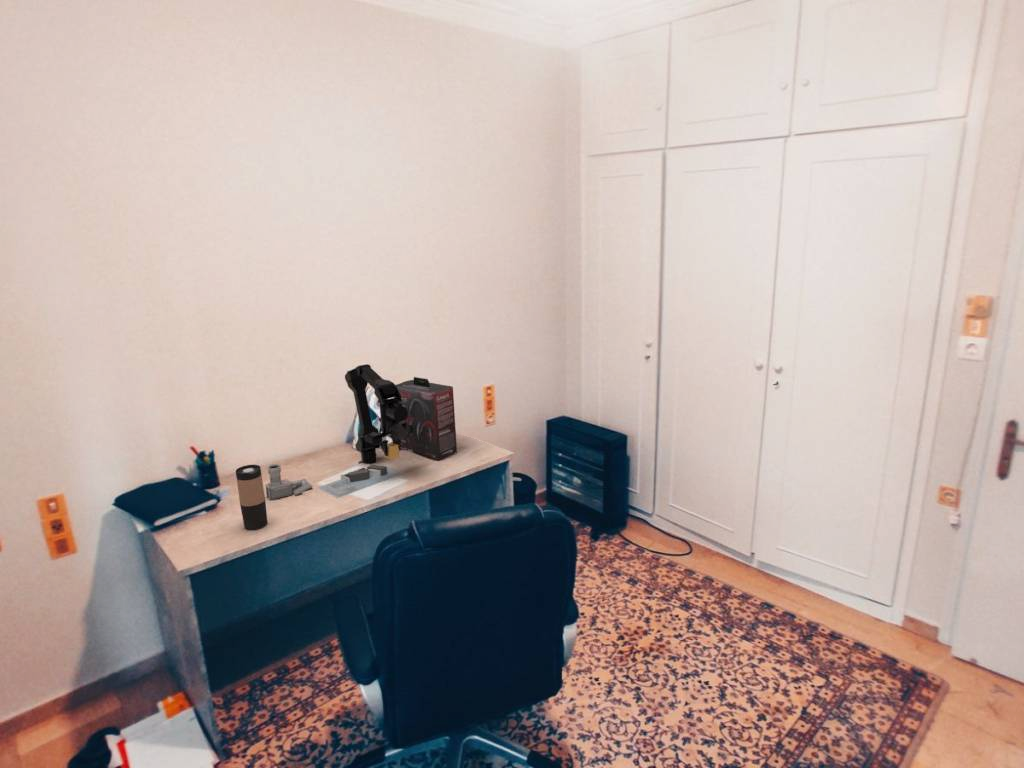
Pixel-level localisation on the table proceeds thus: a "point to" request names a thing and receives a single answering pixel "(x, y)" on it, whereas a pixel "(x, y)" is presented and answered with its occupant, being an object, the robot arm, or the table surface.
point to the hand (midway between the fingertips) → (391, 454)
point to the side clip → (347, 479)
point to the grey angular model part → (283, 484)
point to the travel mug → (251, 497)
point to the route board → (376, 477)
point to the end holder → (343, 491)
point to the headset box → (428, 418)
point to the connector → (392, 451)
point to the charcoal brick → (358, 475)
